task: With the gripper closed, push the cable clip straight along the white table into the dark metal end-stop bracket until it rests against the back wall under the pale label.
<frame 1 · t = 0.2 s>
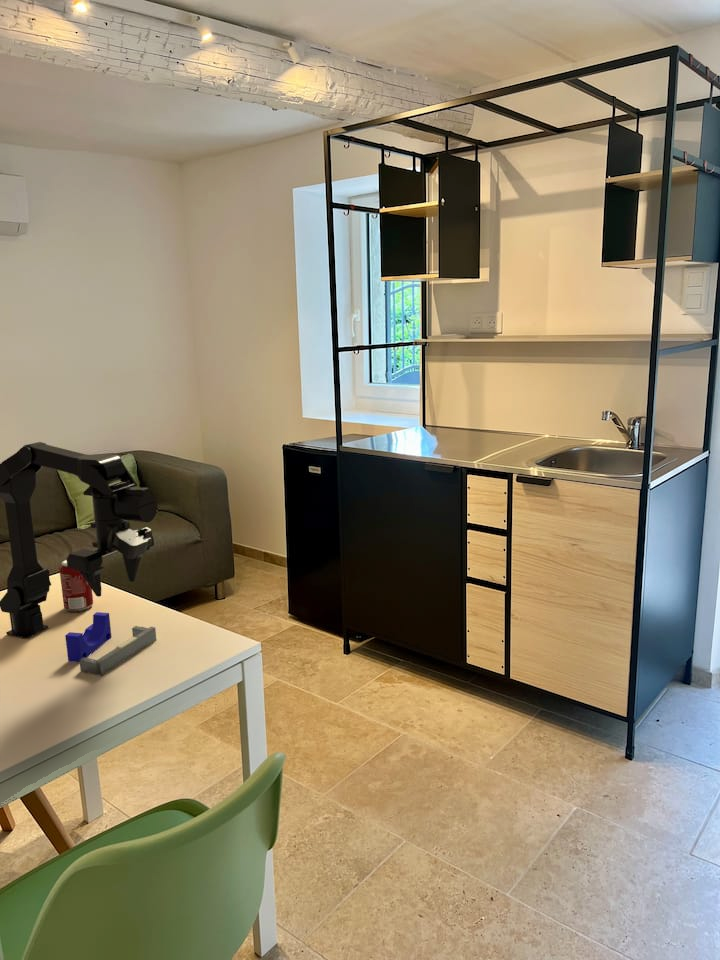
hand: (115, 588, 153), 14 cm above the table, tool pointing down, fingers open, 9 cm apart
cable clip: (87, 650, 157), on the table
stop bracket: (120, 654, 154), on the table
soda can: (79, 608, 179), on the table
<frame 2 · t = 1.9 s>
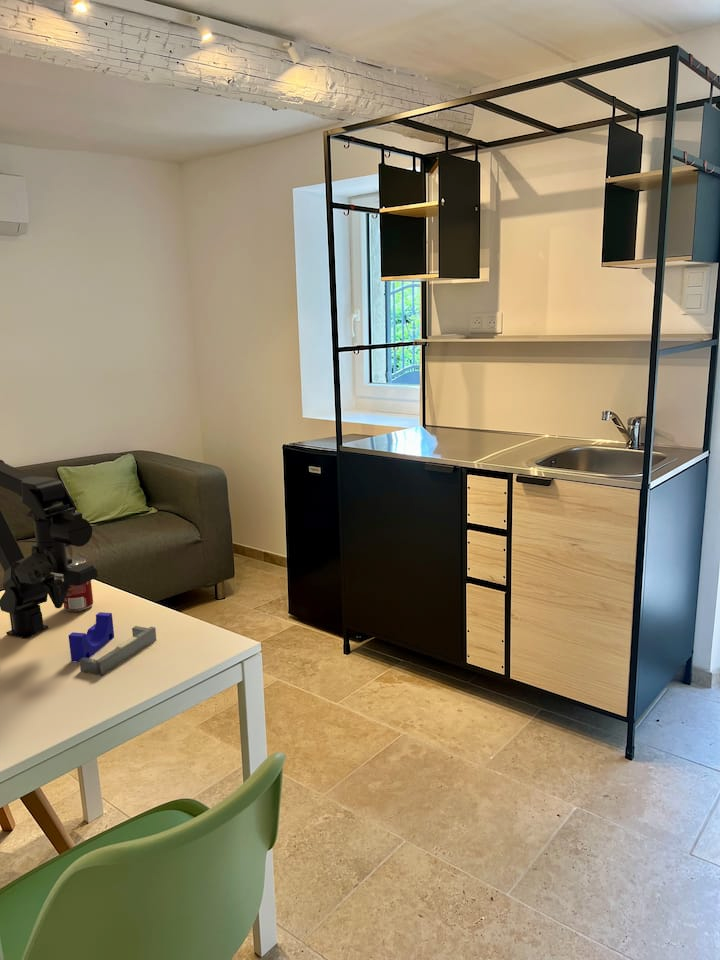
hand: (58, 607, 158), 8 cm above the table, tool pointing down, fingers closed
nothing on the table moved.
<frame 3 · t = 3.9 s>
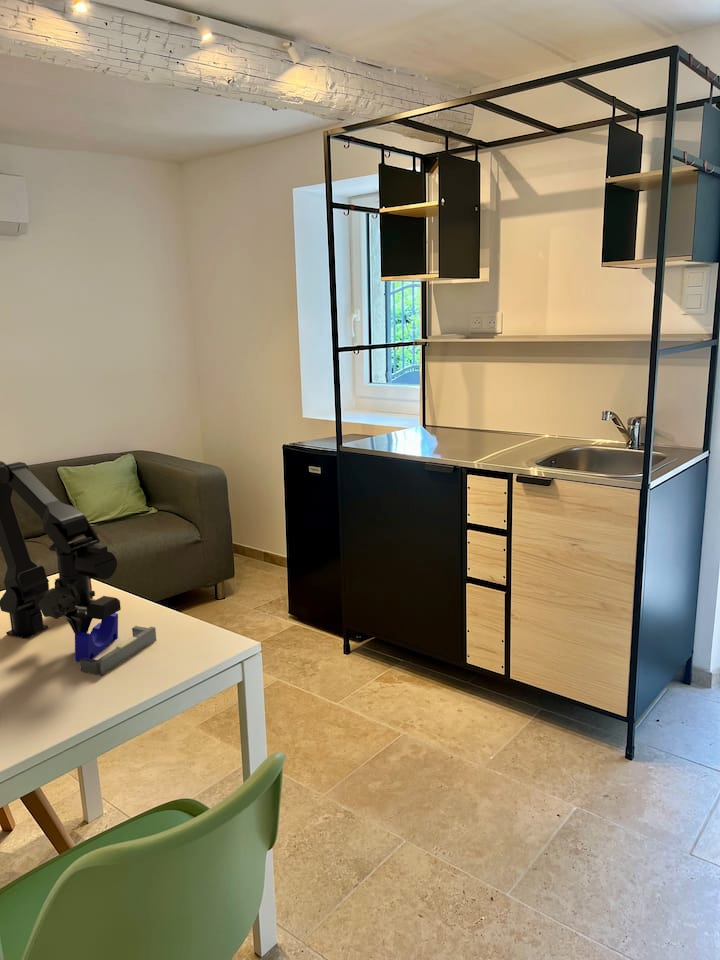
hand: (81, 640, 157), 2 cm above the table, tool pointing down, fingers closed
cable clip: (94, 649, 157), on the table
everything else where it was.
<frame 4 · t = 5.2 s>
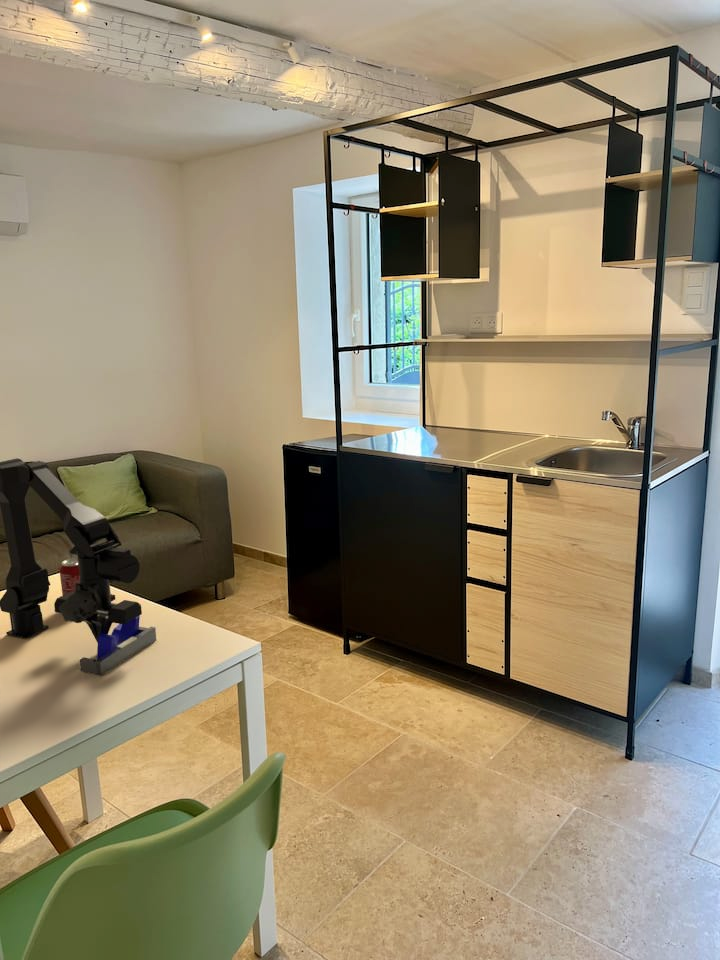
hand: (101, 644, 155), 2 cm above the table, tool pointing down, fingers closed
cable clip: (114, 651, 155), on the table, touching gripper
everything else where it was.
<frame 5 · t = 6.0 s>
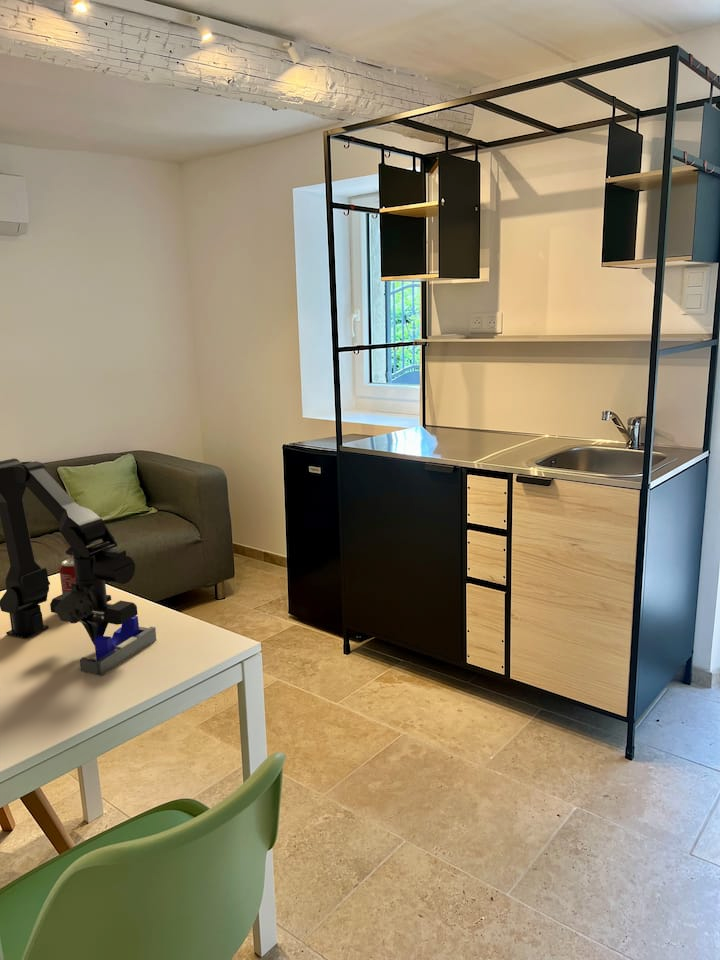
hand: (97, 644, 156), 1 cm above the table, tool pointing down, fingers closed
cable clip: (116, 653, 156), on the table
everything else where it was.
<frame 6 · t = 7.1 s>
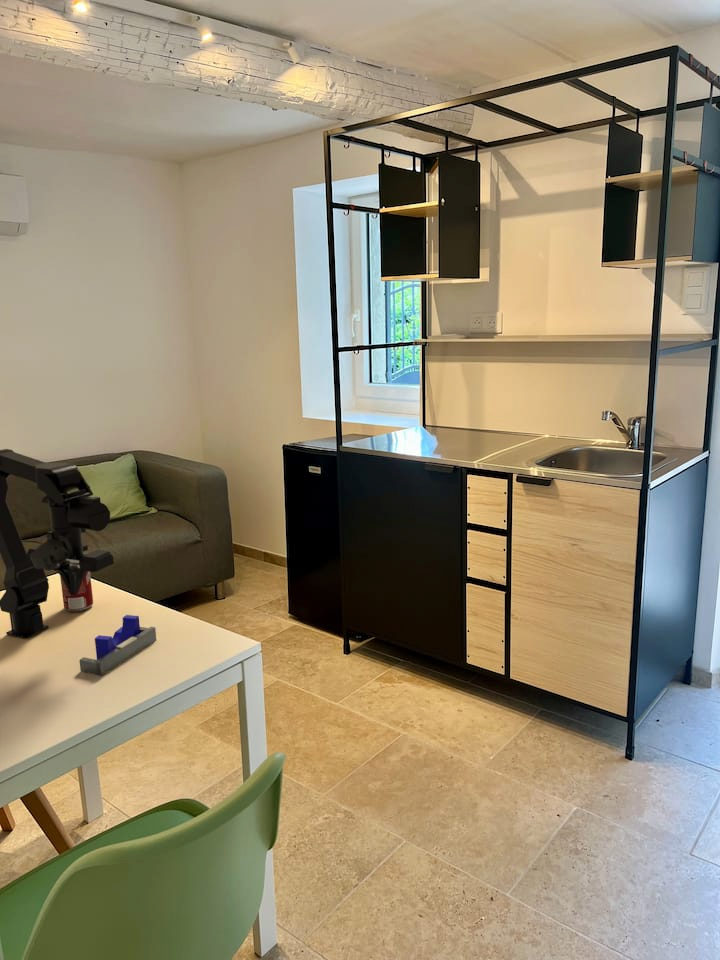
hand: (74, 595, 156), 12 cm above the table, tool pointing down, fingers closed
nothing on the table moved.
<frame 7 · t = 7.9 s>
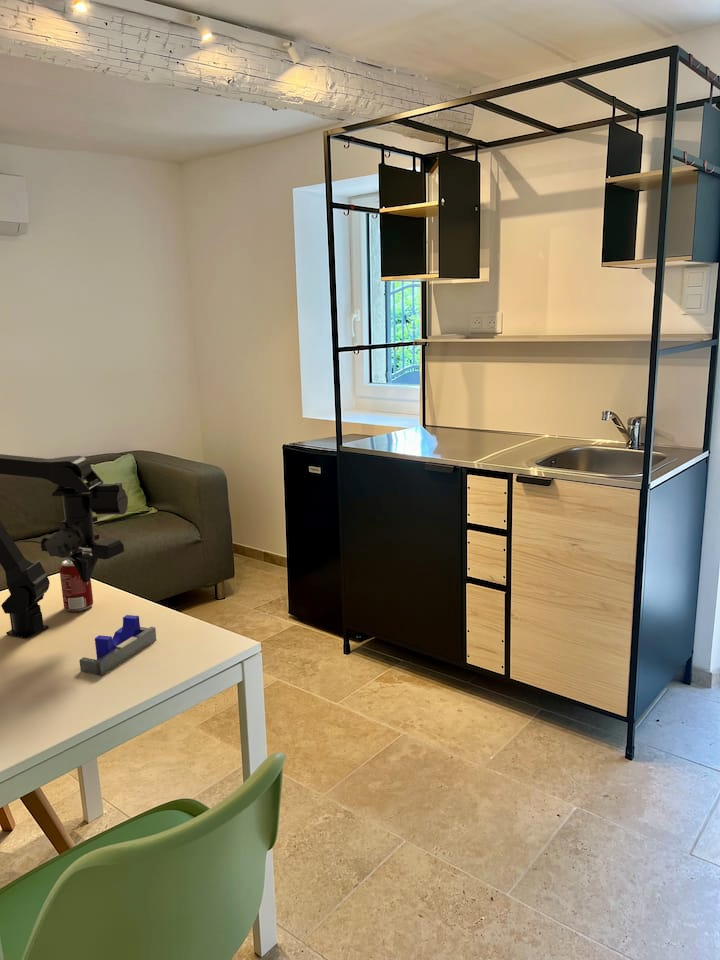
hand: (86, 581, 163), 12 cm above the table, tool pointing down, fingers closed
nothing on the table moved.
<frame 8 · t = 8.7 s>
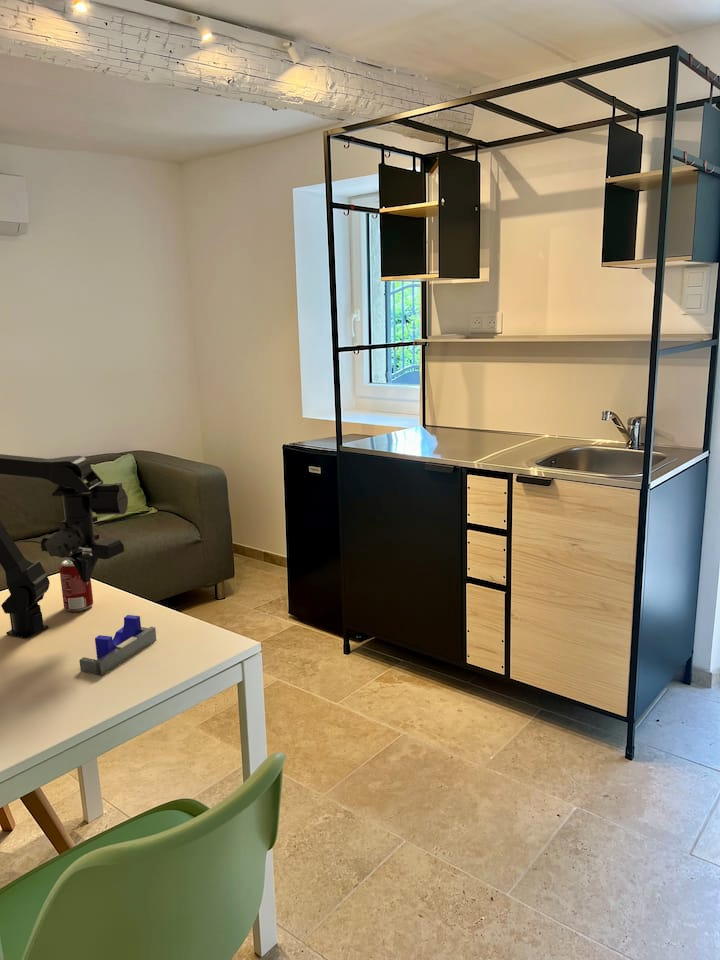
hand: (86, 581, 163), 12 cm above the table, tool pointing down, fingers closed
nothing on the table moved.
at the end: cable clip inside the target area (1.3 cm from its centre), on the table; cable clip moved 7.6 cm from its start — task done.
